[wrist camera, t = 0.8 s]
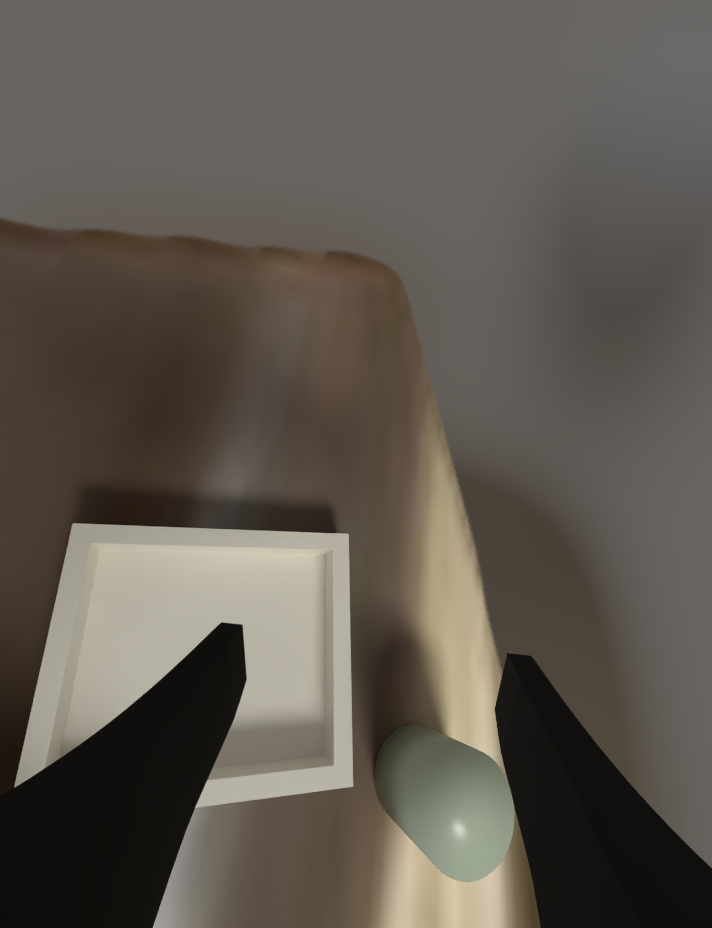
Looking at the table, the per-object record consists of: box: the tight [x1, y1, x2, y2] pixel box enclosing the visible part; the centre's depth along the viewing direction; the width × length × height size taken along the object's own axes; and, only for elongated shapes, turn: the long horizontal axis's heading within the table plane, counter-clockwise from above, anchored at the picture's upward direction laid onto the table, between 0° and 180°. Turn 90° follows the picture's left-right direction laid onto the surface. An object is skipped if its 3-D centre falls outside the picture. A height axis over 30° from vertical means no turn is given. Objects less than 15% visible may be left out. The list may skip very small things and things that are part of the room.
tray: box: [14, 523, 353, 808], centre depth 23 cm, size 13×15×2 cm
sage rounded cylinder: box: [374, 724, 514, 882], centre depth 22 cm, size 5×5×6 cm
